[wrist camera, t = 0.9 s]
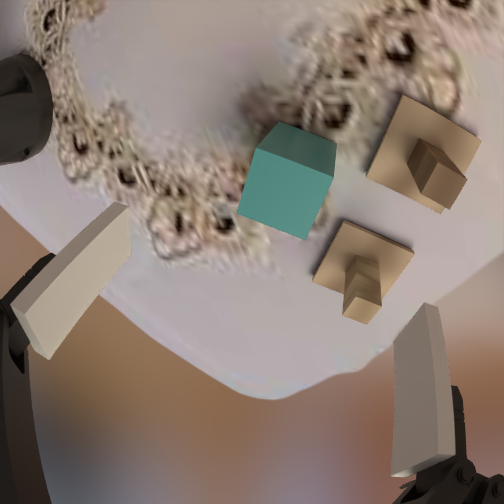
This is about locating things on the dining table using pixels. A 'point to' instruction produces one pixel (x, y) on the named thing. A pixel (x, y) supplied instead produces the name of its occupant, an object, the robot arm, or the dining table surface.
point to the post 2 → (423, 156)
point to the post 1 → (361, 269)
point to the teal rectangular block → (288, 179)
